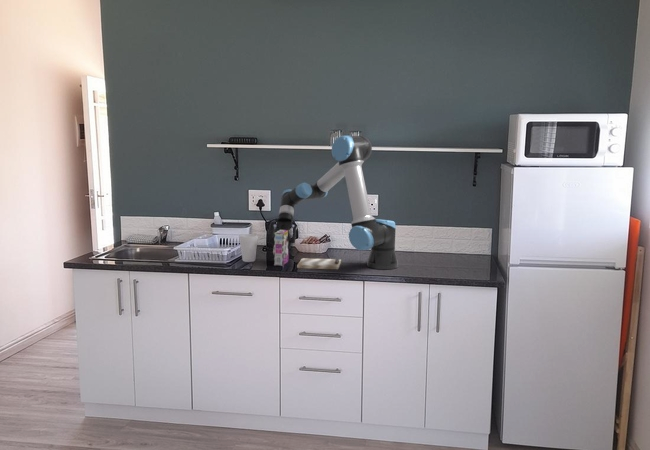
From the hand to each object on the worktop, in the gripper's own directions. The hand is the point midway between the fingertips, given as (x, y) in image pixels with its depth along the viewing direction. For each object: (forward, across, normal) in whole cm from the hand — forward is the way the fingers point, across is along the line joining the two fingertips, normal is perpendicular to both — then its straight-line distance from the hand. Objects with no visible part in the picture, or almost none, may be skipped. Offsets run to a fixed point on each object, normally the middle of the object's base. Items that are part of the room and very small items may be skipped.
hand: (280, 253), depth 267 cm
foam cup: (-2, +18, -10) cm, 21 cm away
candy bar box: (+2, 0, -7) cm, 7 cm away
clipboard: (+1, -19, -7) cm, 20 cm away
